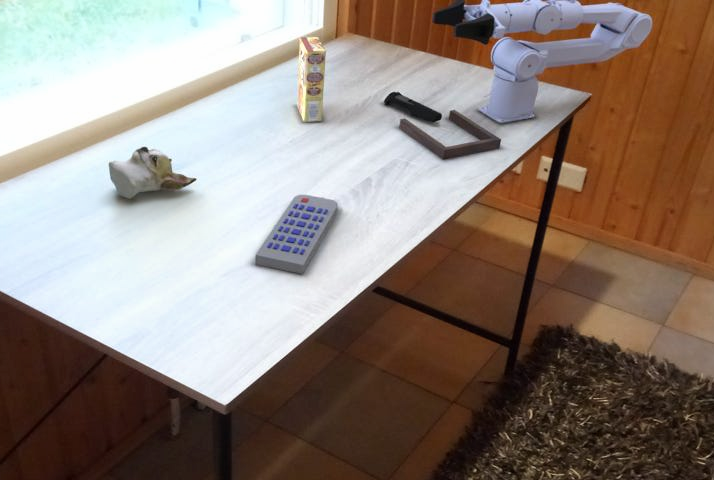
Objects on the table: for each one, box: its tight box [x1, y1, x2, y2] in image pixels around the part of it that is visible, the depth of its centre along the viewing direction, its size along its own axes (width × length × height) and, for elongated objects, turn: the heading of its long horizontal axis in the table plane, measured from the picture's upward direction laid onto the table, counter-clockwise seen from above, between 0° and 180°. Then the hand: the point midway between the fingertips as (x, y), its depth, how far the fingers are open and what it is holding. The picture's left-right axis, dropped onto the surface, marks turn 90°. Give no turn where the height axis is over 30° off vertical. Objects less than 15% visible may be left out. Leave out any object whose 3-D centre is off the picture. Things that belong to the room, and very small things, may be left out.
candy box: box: [297, 36, 327, 123], centre depth 173 cm, size 9×4×15 cm, turn 8°
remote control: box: [254, 194, 339, 275], centre depth 137 cm, size 8×23×2 cm, turn 160°
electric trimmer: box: [383, 91, 443, 123], centre depth 178 cm, size 4×16×3 cm, turn 36°
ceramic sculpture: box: [108, 146, 197, 200], centre depth 146 cm, size 11×9×15 cm
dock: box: [398, 109, 502, 160], centre depth 169 cm, size 14×16×2 cm
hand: (444, 24), depth 160 cm, fingers open, 7 cm apart
